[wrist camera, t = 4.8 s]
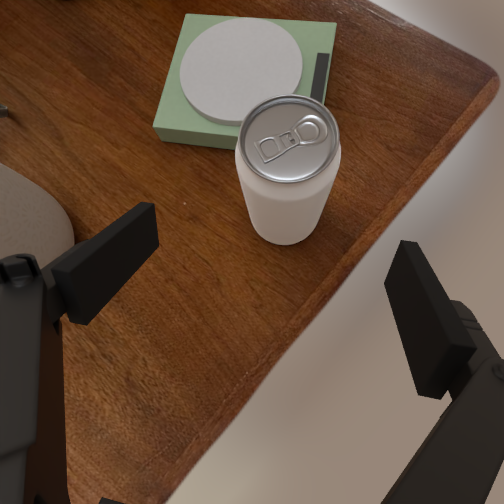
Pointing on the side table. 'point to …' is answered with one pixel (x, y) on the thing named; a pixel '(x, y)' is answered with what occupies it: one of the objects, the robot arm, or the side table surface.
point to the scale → (238, 74)
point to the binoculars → (3, 111)
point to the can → (287, 165)
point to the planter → (31, 220)
